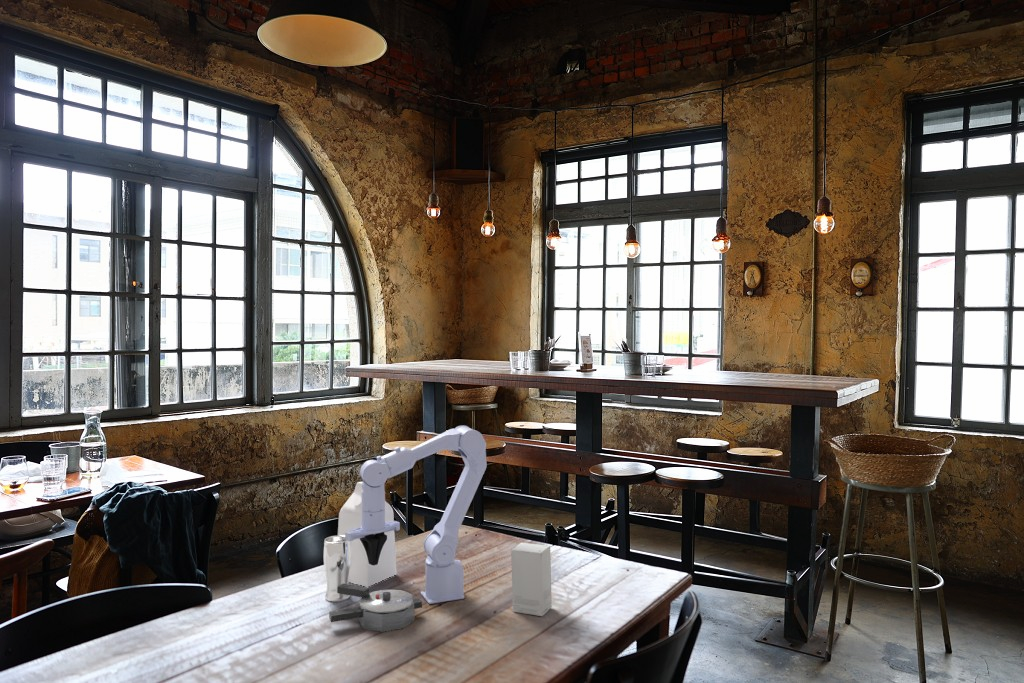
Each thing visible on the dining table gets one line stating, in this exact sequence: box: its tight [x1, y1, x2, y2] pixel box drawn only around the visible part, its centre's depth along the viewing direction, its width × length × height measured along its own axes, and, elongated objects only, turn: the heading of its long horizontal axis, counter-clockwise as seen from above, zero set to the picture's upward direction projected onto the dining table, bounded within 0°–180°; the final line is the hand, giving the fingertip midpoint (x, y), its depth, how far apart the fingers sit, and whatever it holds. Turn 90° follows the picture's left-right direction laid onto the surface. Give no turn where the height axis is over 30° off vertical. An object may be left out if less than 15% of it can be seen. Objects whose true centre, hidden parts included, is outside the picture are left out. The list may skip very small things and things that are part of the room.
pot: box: [328, 597, 423, 633], centre depth 166 cm, size 21×12×4 cm, turn 114°
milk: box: [337, 481, 398, 588], centre depth 196 cm, size 12×12×26 cm
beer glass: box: [323, 534, 352, 603], centre depth 181 cm, size 7×7×15 cm
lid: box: [337, 583, 414, 613], centre depth 168 cm, size 19×12×2 cm, turn 69°
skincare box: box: [510, 542, 553, 617], centre depth 174 cm, size 8×7×16 cm
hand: (373, 564), depth 176 cm, fingers closed
